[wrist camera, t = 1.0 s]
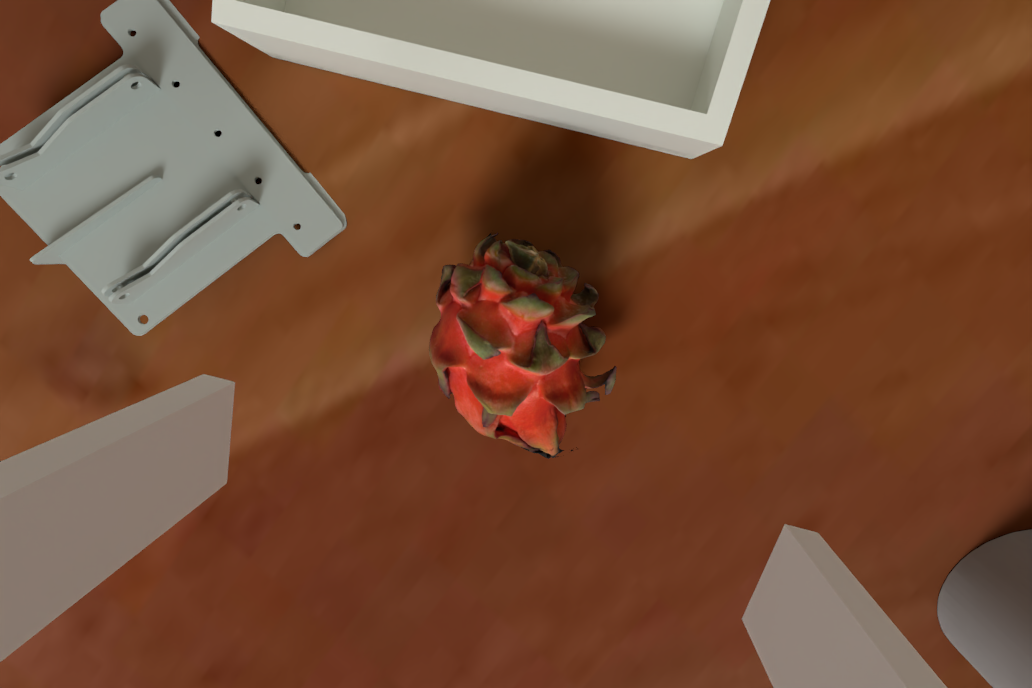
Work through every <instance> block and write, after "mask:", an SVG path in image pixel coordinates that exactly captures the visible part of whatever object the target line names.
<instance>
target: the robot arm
mask: <svg viewBox="0 0 1032 688" xmlns="http://www.w3.org/2000/svg"><path fill="white" fill-rule="evenodd" d="M234 388H235V382H232V381H228V380H225V379H221V378H217V377H213V376H209V375H205V374H203V375H201V376H198V377H196V378H194V379H191V380H189V381H187V382H184V383H182V384H180V385H177V386H175V387H173V388H170V389H168V390H166V391H163V392H161V393H159V394H157V395H154V396H152V397H150V398H147V399H145V400H143V401H140V402H138V403H136V404H133V405H131V406H129V407H126V408H124V409H122V410H119V411H117V412H115V413H112V414H110V415H108V416H105V417H103V418H101V419H98V420H96V421H94V422H91V423H89V424H87V425H85V426H82V427H80V428H78V429H75V430H73V431H71V432H68V433H66V434H64V435H61V436H59V437H57V438H54V439H52V440H50V441H47V442H45V443H43V444H40V445H38V446H36V447H33V448H31V449H29V450H26V451H24V452H22V453H20V454H17V455H15V456H13V457H10V458H8V459H6V460H3V461H0V662H1V661H2V660H3V659H5V658H6V657H7V656H9V655H10V654H11V653H12V652H14V651H15V650H16V649H17V648H19V647H20V646H21V645H22V644H24V643H25V642H26V641H28V640H29V639H30V638H31V637H33V636H34V635H35V634H36V633H38V632H39V631H40V630H41V629H43V628H44V627H45V626H47V625H48V624H49V623H50V622H52V621H53V620H54V619H55V618H57V617H58V616H59V615H60V614H62V613H63V612H64V611H66V610H67V609H68V608H69V607H71V606H72V605H73V604H74V603H76V602H77V601H78V600H79V599H81V598H82V597H83V596H85V595H86V594H87V593H88V592H90V591H91V590H92V589H93V588H95V587H96V586H97V585H98V584H100V583H101V582H102V581H104V580H105V579H106V578H107V577H109V576H110V575H111V574H112V573H114V572H115V571H116V570H117V569H119V568H120V567H121V566H123V565H124V564H125V563H126V562H128V561H129V560H130V559H131V558H133V557H134V556H135V555H136V554H138V553H139V552H140V551H142V550H143V549H144V548H145V547H147V546H148V545H149V544H150V543H152V542H153V541H154V540H155V539H157V538H158V537H159V536H161V535H162V534H163V533H164V532H166V531H167V530H168V529H169V528H171V527H172V526H173V525H174V524H176V523H177V522H178V521H180V520H181V519H182V518H183V517H185V516H186V515H187V514H188V513H190V512H191V511H192V510H193V509H195V508H196V507H197V506H199V505H200V504H201V503H202V502H204V501H205V500H206V499H207V498H209V497H210V496H211V495H212V494H214V493H215V492H216V491H218V490H219V489H220V488H221V487H223V486H224V485H225V484H226V483H227V475H228V462H229V450H230V437H231V425H232V413H233V400H234ZM742 620H743V623H744V625H745V627H746V629H747V631H748V633H749V636H750V638H751V640H752V642H753V644H754V646H755V649H756V651H757V653H758V655H759V657H760V659H761V662H762V664H763V666H764V668H765V670H766V672H767V675H768V677H769V679H770V681H771V683H772V685H773V688H947V687H946V686H945V685H944V683H943V682H942V681H941V680H940V679H939V677H938V676H937V675H936V674H935V673H934V671H933V670H932V669H931V668H930V667H929V665H928V664H927V663H926V662H925V661H924V659H923V658H922V657H921V656H920V655H919V653H918V652H917V651H916V650H915V649H914V647H913V646H912V645H911V644H910V643H909V641H908V640H907V639H906V638H905V637H904V635H903V634H902V633H901V632H900V631H899V629H898V628H897V627H896V626H895V625H894V623H893V622H892V621H891V620H890V619H889V617H888V616H887V615H886V614H885V613H884V611H883V610H882V609H881V608H880V607H879V605H878V604H877V603H876V602H875V601H874V599H873V598H872V597H871V596H870V595H869V593H868V592H867V591H866V590H865V589H864V587H863V586H862V585H861V584H860V583H859V581H858V580H857V579H856V578H855V577H854V575H853V574H852V573H851V572H850V571H849V569H848V568H847V567H846V566H845V565H844V563H843V562H842V561H841V560H840V559H839V557H838V556H837V555H836V554H835V553H834V551H833V550H832V549H831V548H830V547H829V545H828V544H827V543H826V542H825V541H824V539H823V538H822V537H821V536H820V535H819V533H817V532H813V531H809V530H805V529H802V528H798V527H794V526H790V525H786V524H785V525H784V527H783V529H782V532H781V534H780V536H779V538H778V540H777V543H776V545H775V547H774V549H773V551H772V554H771V556H770V558H769V560H768V562H767V565H766V567H765V569H764V571H763V573H762V576H761V578H760V580H759V582H758V584H757V587H756V589H755V591H754V593H753V595H752V598H751V600H750V602H749V604H748V606H747V609H746V611H745V613H744V615H743V617H742Z"/></svg>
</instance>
